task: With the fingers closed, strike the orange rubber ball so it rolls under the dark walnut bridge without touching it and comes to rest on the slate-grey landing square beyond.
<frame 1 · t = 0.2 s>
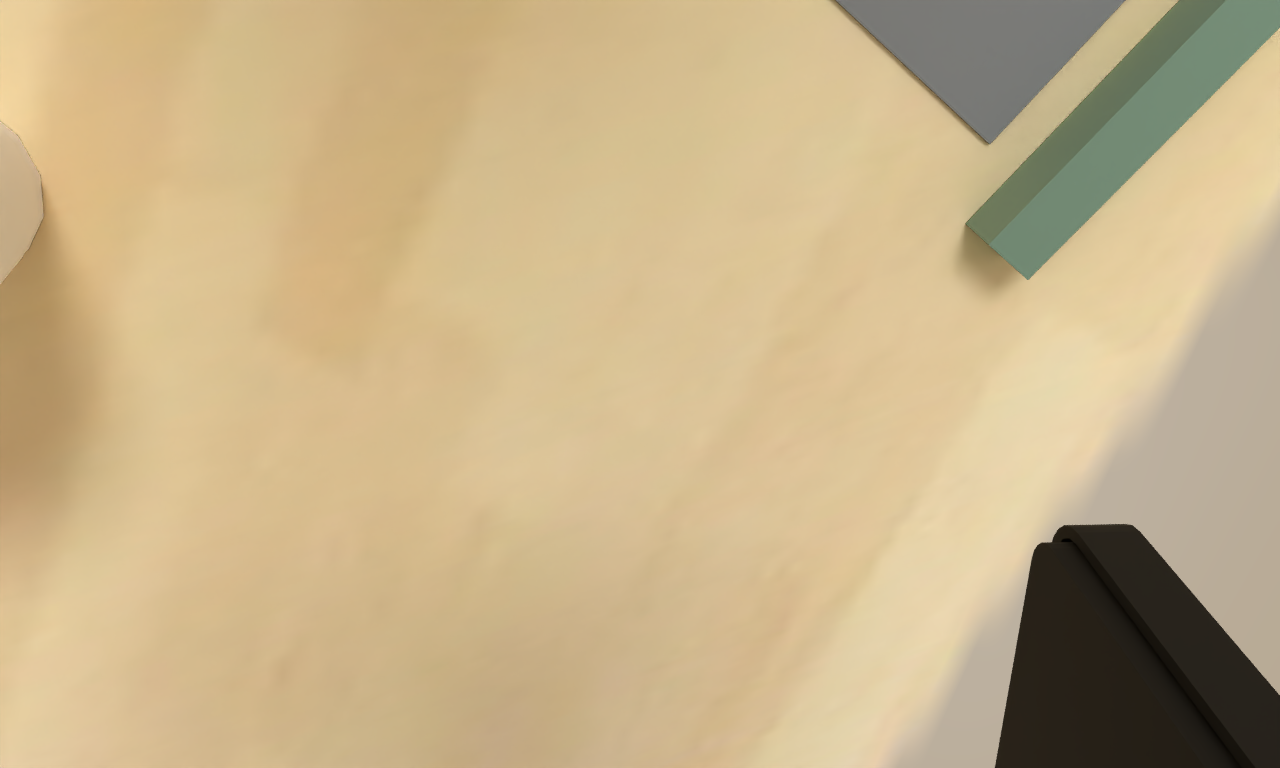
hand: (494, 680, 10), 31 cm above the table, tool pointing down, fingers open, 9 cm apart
stopper wall: (1178, 40, 38), on the table
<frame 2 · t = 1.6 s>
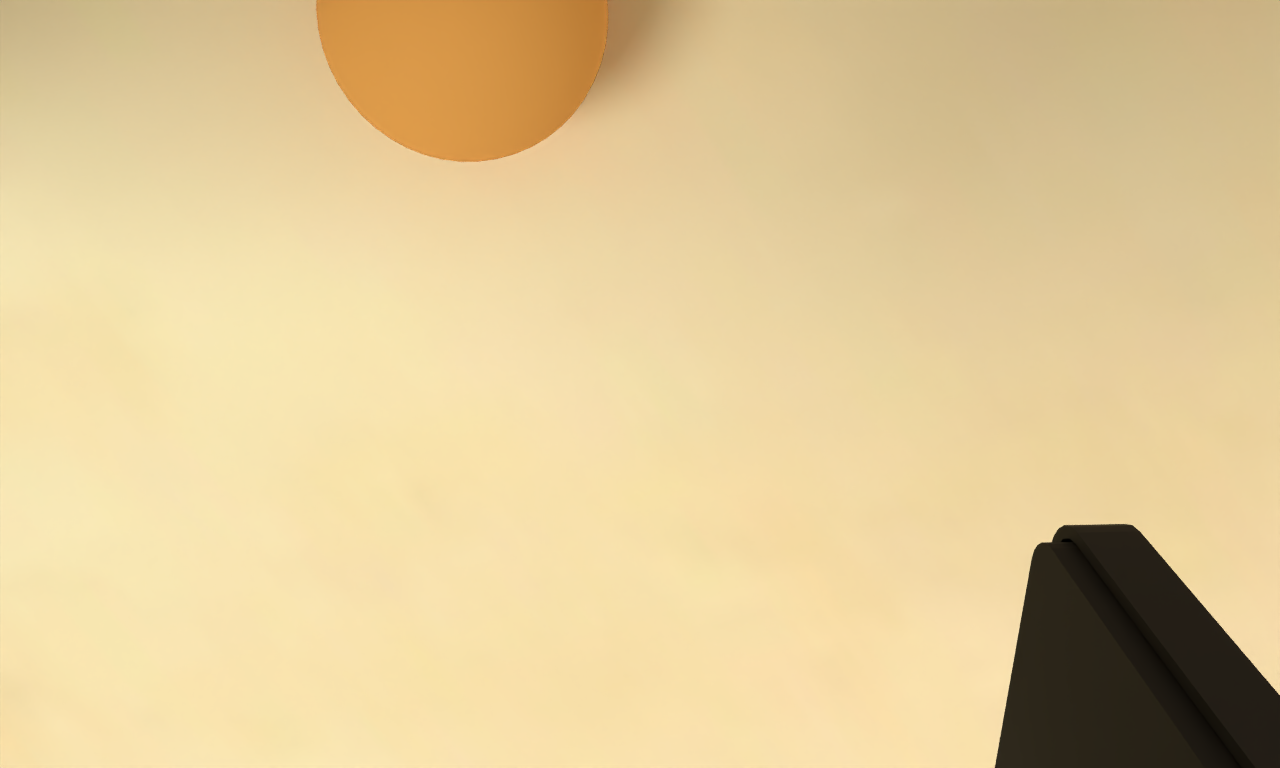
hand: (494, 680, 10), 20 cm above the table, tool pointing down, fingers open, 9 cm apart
ball: (464, 16, 24), on the table
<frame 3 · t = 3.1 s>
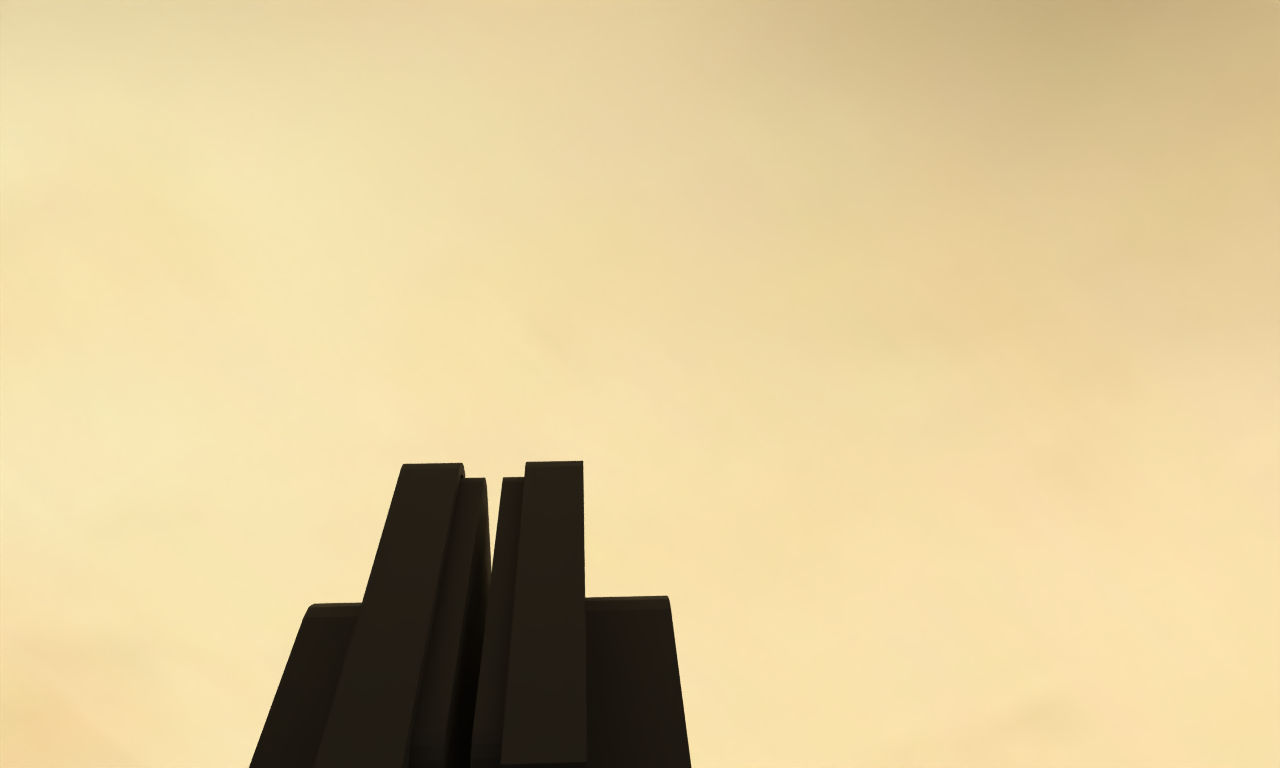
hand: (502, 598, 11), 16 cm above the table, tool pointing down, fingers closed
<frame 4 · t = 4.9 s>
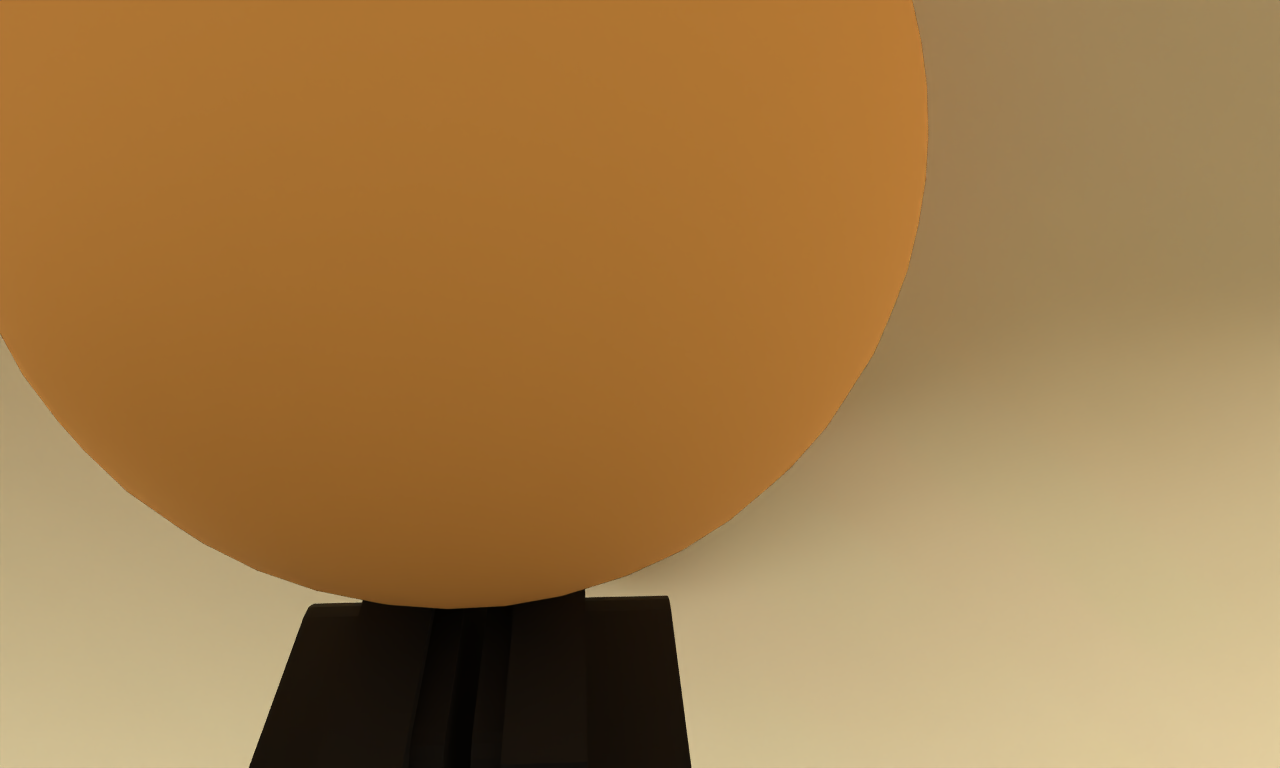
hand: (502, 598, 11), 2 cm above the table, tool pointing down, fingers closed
ball: (465, 151, 8), on the table
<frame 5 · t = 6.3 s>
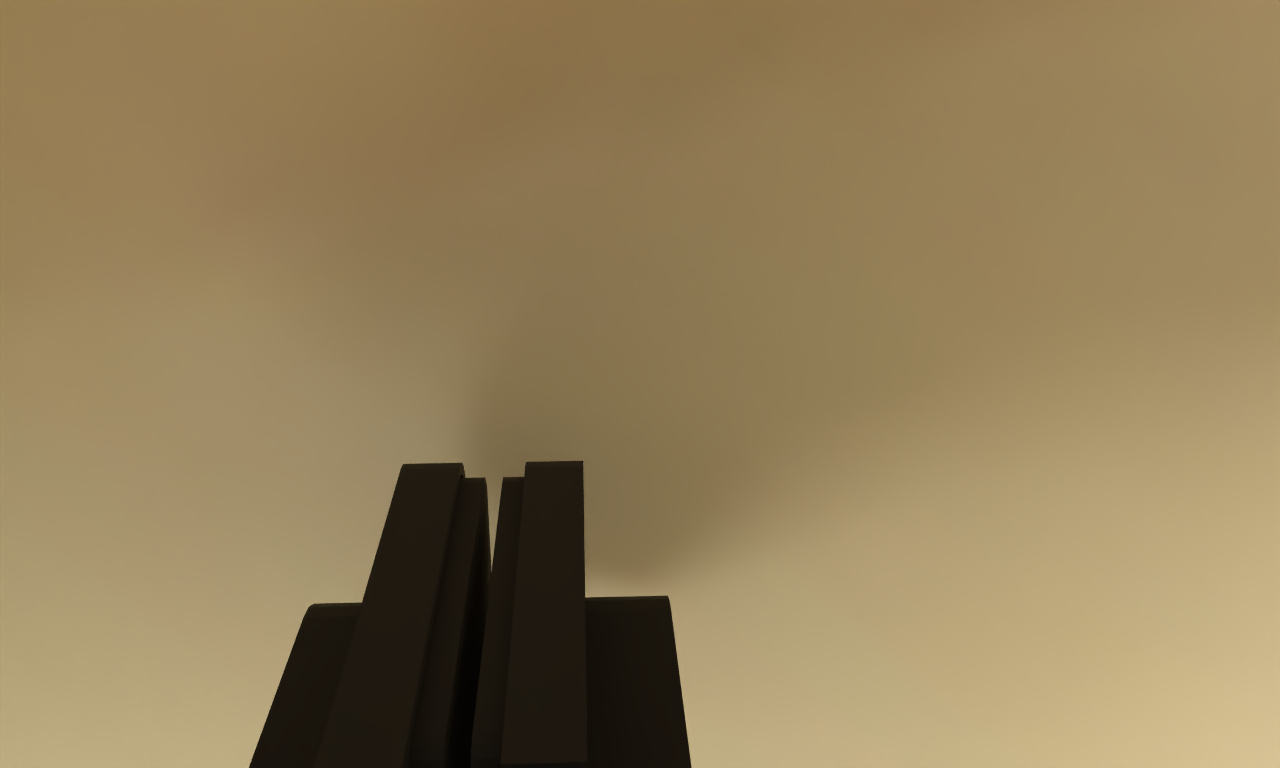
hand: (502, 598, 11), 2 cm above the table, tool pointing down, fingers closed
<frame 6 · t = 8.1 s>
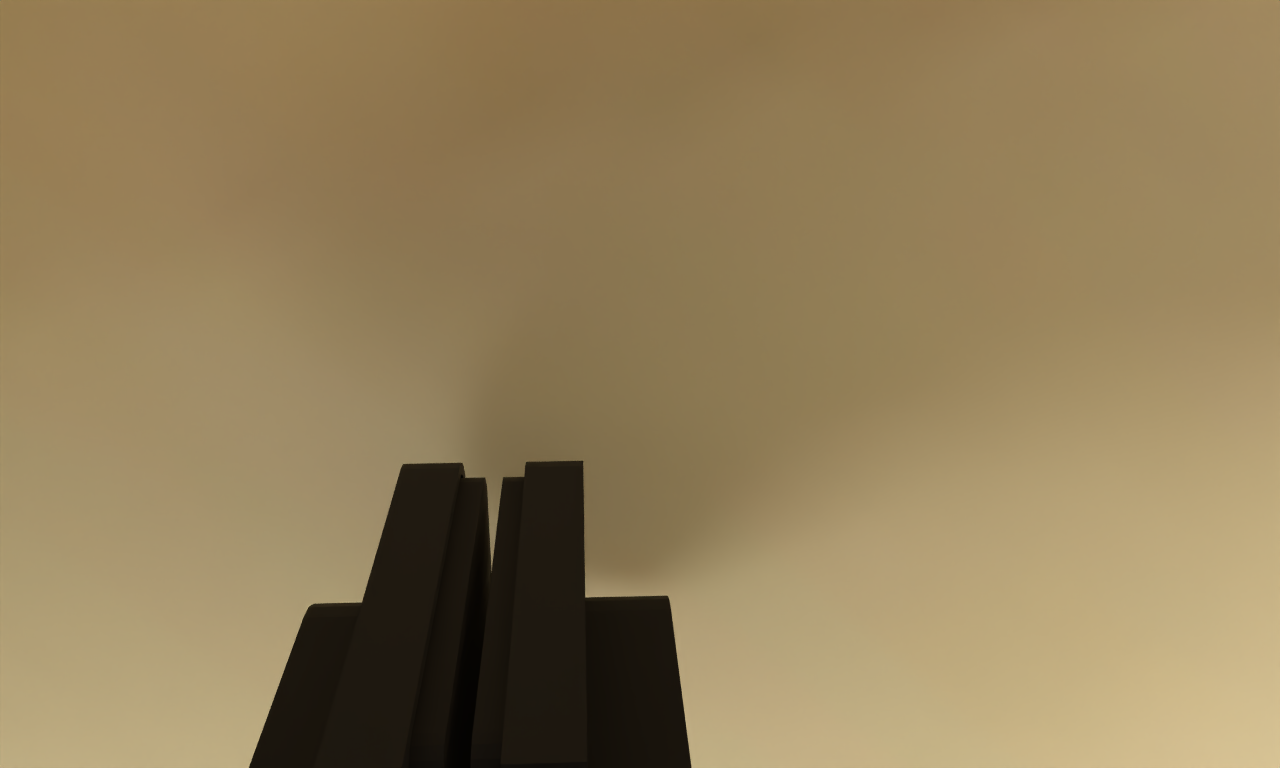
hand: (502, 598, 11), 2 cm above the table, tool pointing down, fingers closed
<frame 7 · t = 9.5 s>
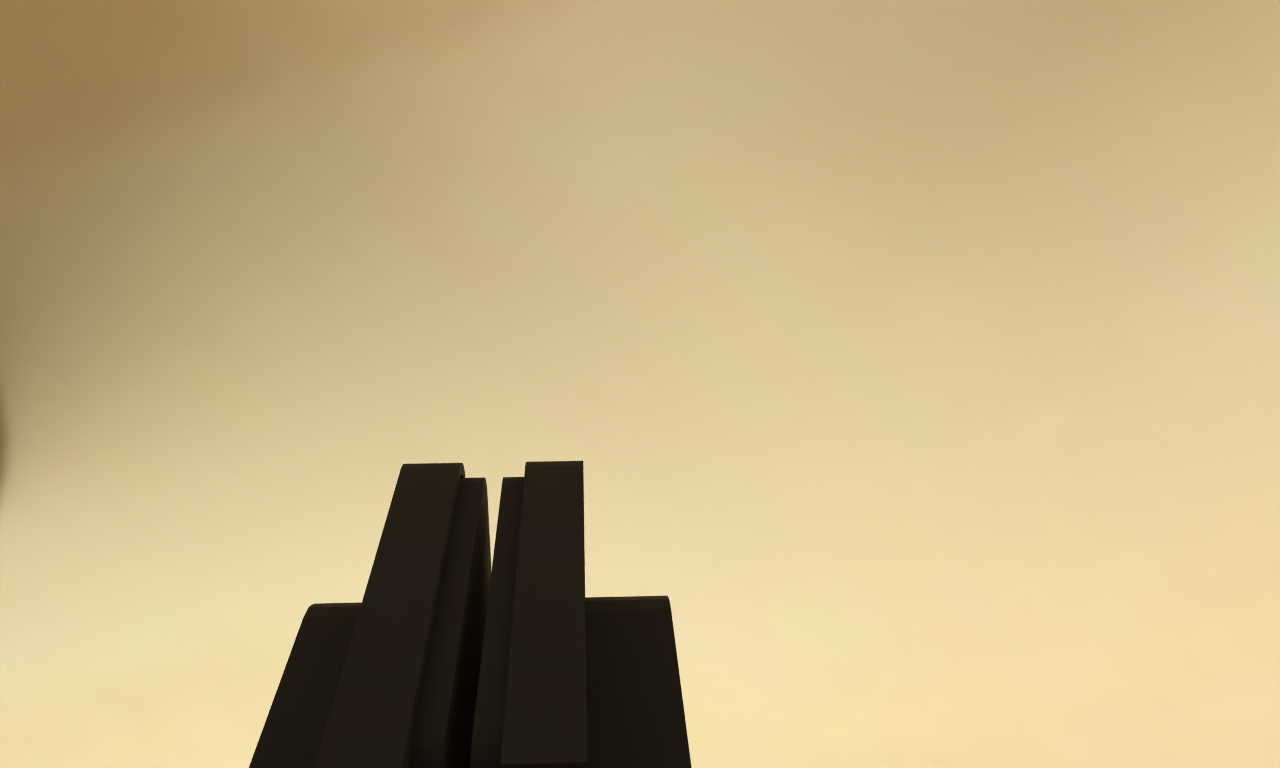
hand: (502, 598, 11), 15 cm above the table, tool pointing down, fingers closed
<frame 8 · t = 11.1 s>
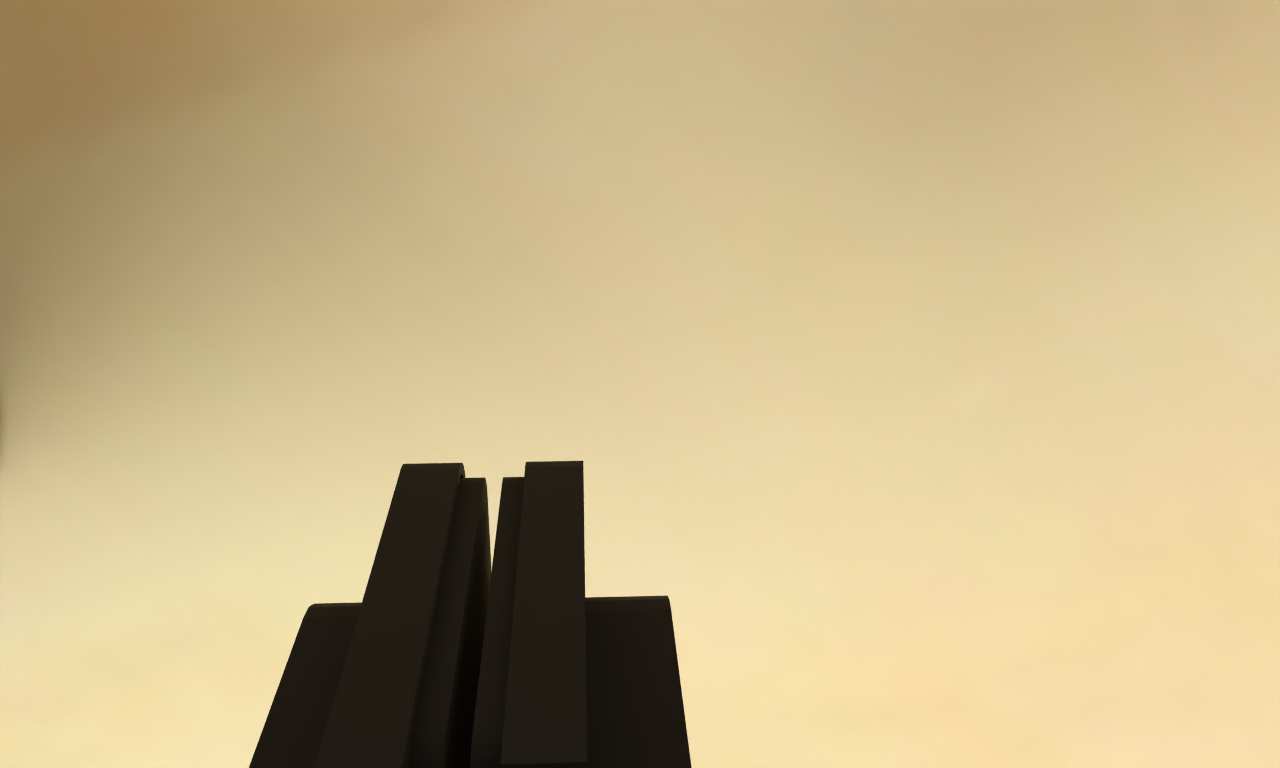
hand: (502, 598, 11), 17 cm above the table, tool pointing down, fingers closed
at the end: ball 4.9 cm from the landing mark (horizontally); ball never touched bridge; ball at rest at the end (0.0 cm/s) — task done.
